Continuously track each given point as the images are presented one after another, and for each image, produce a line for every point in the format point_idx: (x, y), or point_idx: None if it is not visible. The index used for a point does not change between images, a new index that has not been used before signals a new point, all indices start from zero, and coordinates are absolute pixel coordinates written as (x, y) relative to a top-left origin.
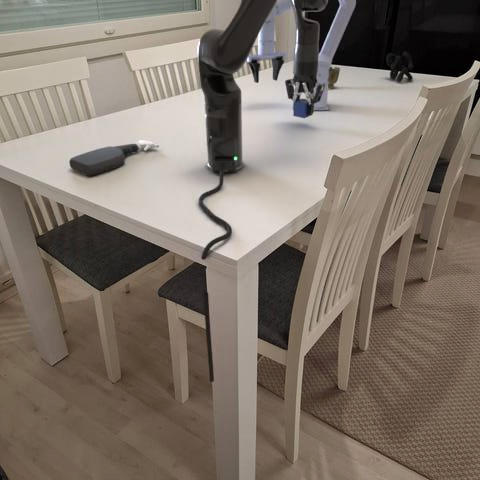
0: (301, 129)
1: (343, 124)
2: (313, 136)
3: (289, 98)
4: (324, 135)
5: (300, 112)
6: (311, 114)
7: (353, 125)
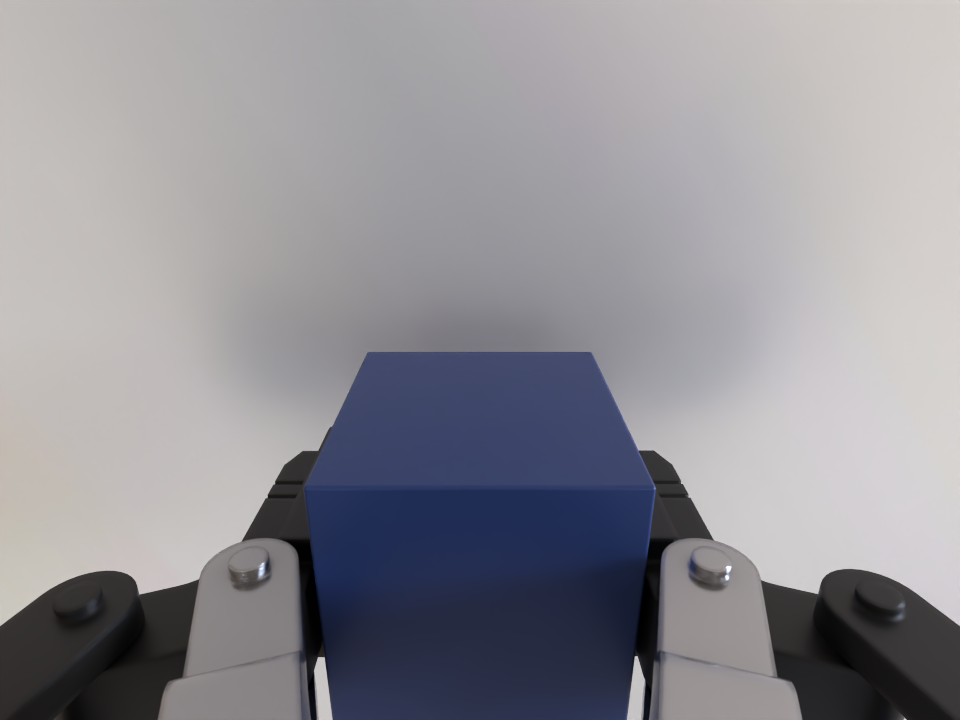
0: (399, 258)
1: None
2: (85, 104)
3: (856, 577)
4: (22, 235)
5: (449, 385)
6: None
7: None
